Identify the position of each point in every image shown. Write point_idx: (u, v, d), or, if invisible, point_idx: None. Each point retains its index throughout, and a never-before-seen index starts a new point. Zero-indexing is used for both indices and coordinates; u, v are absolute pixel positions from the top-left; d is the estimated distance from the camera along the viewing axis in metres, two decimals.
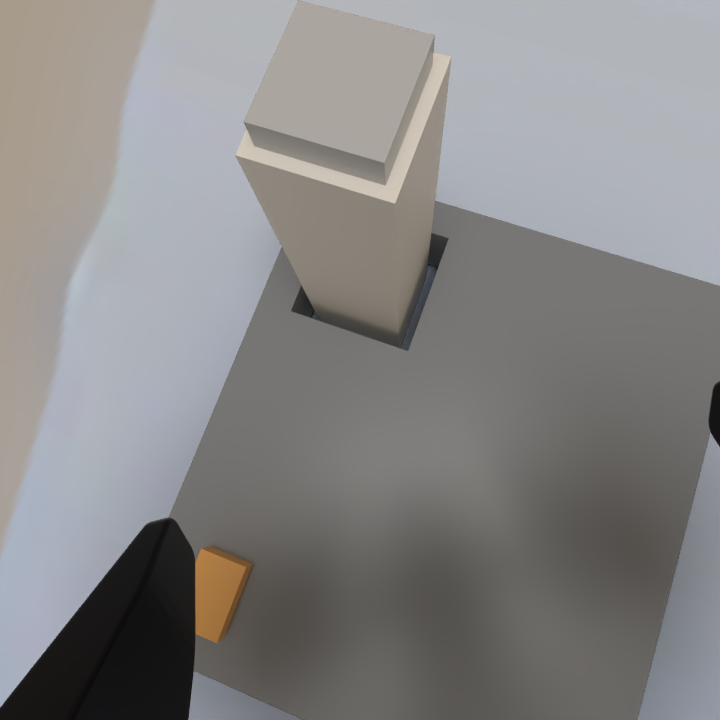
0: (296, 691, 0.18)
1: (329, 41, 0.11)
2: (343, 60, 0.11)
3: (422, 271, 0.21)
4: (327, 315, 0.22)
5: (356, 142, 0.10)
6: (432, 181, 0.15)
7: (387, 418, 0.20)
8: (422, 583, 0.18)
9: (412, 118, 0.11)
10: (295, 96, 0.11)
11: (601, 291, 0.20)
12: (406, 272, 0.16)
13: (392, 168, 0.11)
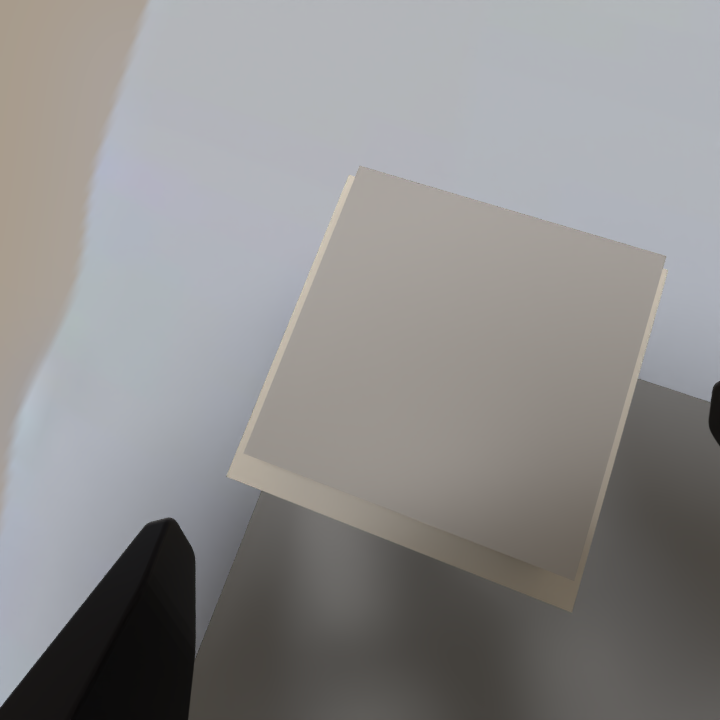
0: None
1: (430, 263, 0.05)
2: (464, 312, 0.05)
3: None
4: None
5: (504, 522, 0.04)
6: None
7: (450, 663, 0.14)
8: None
9: None
10: (358, 394, 0.05)
11: None
12: None
13: None
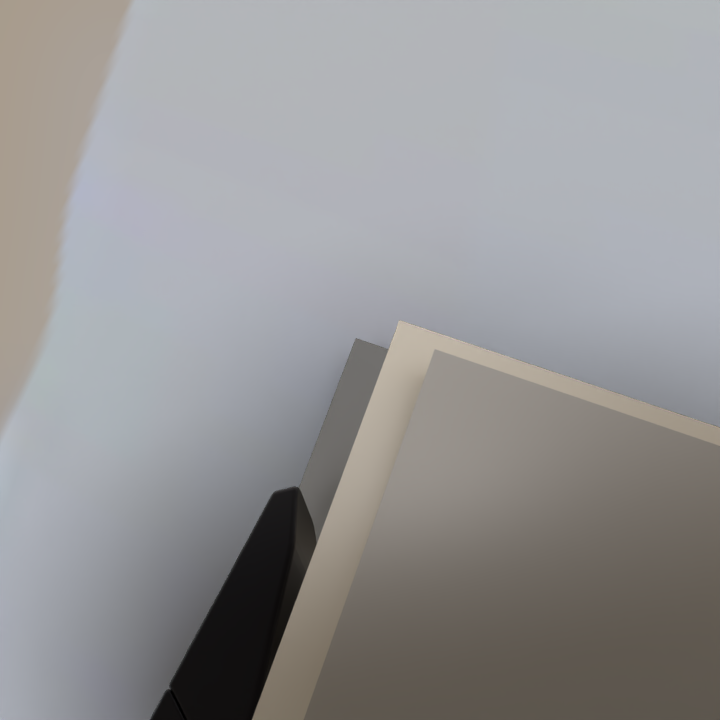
0: None
1: (578, 554, 0.03)
2: (651, 662, 0.02)
3: None
4: None
5: None
6: None
7: None
8: None
9: None
10: None
11: None
12: None
13: None
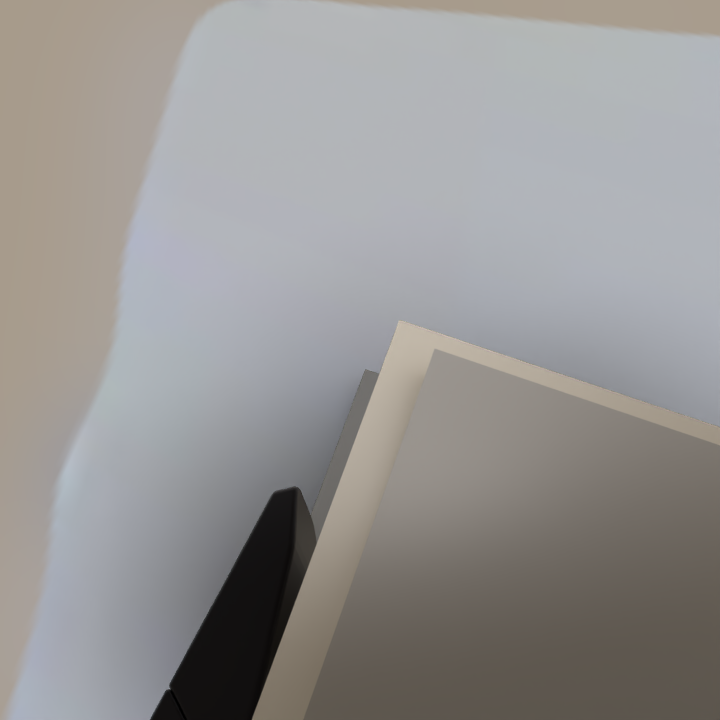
0: None
1: (577, 553, 0.03)
2: (650, 659, 0.03)
3: None
4: None
5: None
6: None
7: None
8: None
9: None
10: None
11: None
12: None
13: None
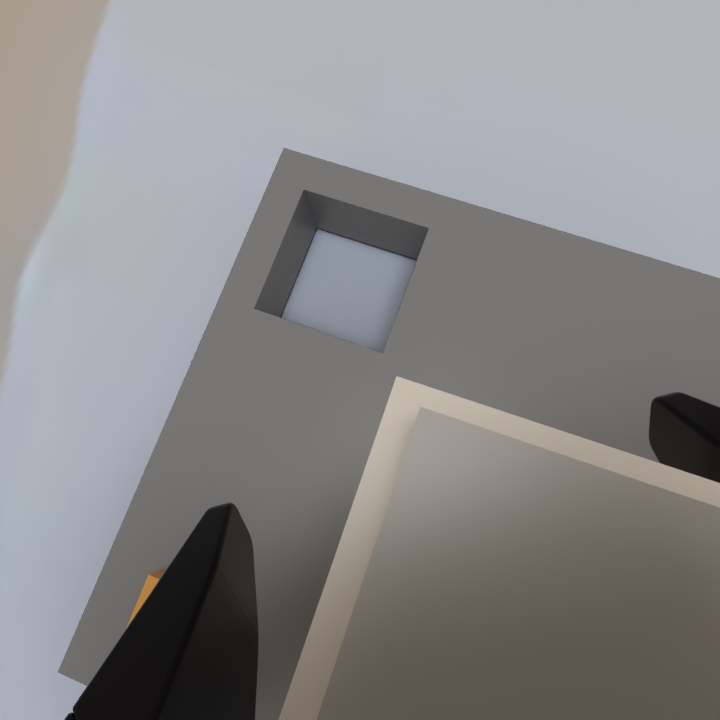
0: None
1: (514, 542, 0.04)
2: (561, 609, 0.04)
3: None
4: None
5: None
6: None
7: (359, 428, 0.18)
8: None
9: None
10: None
11: (597, 287, 0.18)
12: None
13: None
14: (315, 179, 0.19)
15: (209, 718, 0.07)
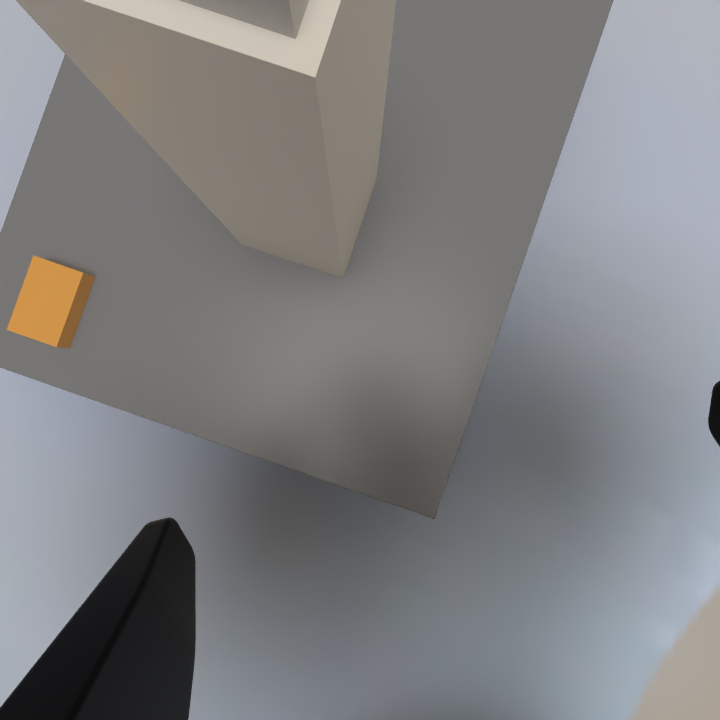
0: (146, 396, 0.18)
1: None
2: None
3: (371, 174, 0.16)
4: (245, 236, 0.16)
5: None
6: (385, 38, 0.10)
7: None
8: (272, 291, 0.18)
9: None
10: None
11: None
12: (347, 185, 0.11)
13: (308, 2, 0.06)
14: None
15: None
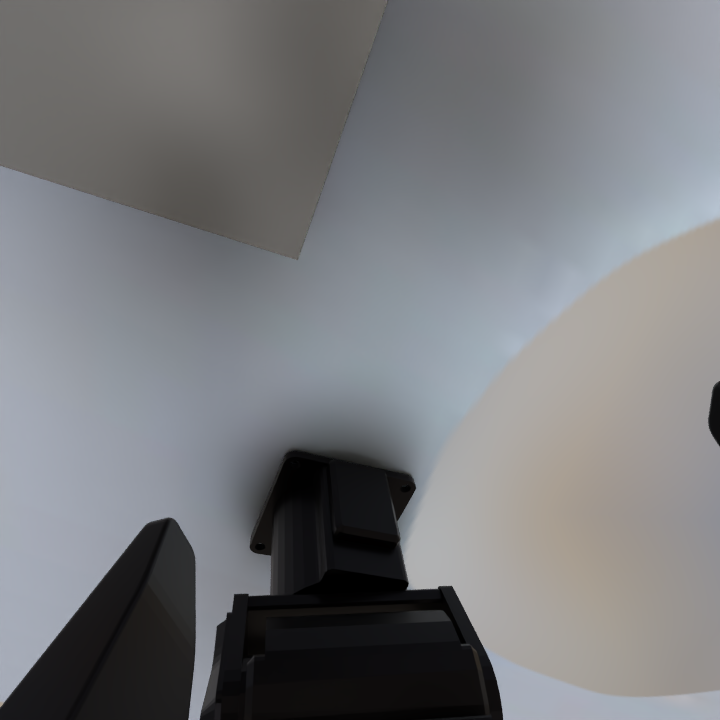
0: None
1: None
2: None
3: None
4: None
5: None
6: None
7: None
8: None
9: None
10: None
11: None
12: None
13: None
14: None
15: None
